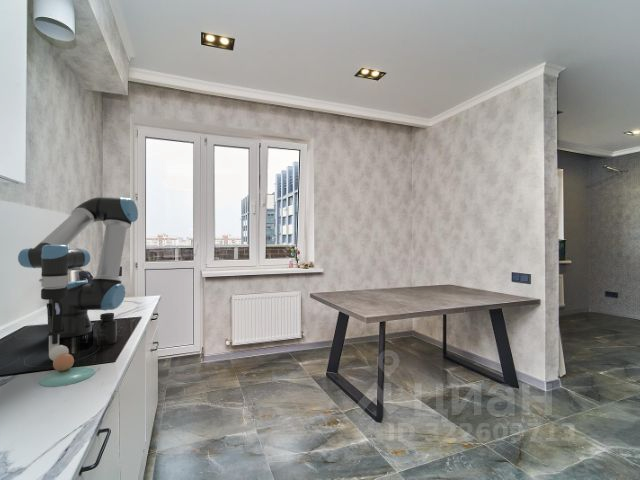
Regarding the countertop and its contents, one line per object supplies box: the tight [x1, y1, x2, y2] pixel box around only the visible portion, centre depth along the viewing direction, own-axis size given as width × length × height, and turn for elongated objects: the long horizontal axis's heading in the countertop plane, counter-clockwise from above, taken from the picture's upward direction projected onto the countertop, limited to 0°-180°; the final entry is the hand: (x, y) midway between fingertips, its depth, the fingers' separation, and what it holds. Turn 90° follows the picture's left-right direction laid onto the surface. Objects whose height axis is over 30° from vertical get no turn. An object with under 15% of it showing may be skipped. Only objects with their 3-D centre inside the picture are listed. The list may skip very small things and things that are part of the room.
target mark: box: [38, 366, 96, 388], centre depth 103 cm, size 14×14×1 cm
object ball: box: [52, 353, 75, 371], centre depth 107 cm, size 6×6×6 cm
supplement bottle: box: [96, 312, 118, 346], centre depth 135 cm, size 7×7×12 cm
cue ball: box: [48, 344, 70, 361], centre depth 115 cm, size 6×6×6 cm
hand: (53, 352), depth 119 cm, fingers closed
